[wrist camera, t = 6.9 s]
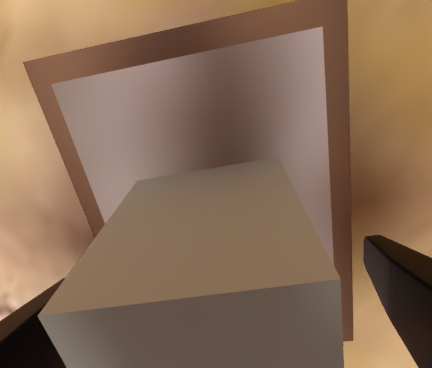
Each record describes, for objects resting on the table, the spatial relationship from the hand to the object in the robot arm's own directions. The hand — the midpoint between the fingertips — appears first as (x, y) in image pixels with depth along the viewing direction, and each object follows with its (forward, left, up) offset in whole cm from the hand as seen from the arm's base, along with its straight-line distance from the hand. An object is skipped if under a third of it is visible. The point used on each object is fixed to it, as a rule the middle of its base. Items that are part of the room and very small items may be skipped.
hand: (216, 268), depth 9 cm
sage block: (0, 0, -2) cm, 2 cm away
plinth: (0, 0, -6) cm, 6 cm away
